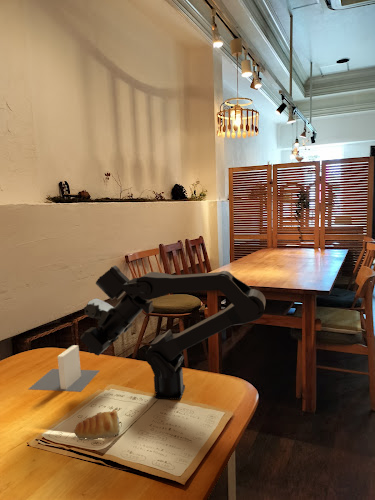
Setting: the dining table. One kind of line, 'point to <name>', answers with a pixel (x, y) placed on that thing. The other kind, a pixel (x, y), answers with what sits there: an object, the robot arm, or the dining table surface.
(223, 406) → the dining table surface
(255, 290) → the robot arm
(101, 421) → the pastry
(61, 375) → the tile
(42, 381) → the mat
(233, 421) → the dining table surface
